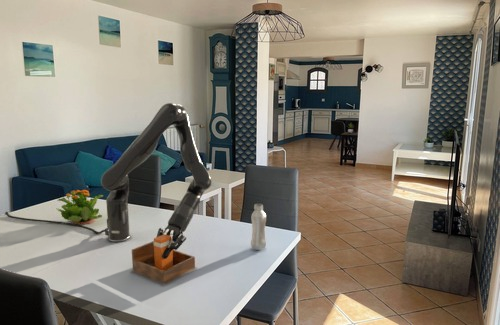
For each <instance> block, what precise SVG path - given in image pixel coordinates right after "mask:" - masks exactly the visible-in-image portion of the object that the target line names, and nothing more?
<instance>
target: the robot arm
mask: <svg viewBox="0 0 500 325" xmlns="http://www.w3.org/2000/svg"><path fill="white" fill-rule="evenodd" d="M189 120H190V119H189V116H188V113H187V110H186V108H185V107H184V106H183V105H181V104H178V103H173V102H167V103H165V104H163V105H162V106H161V107H160V108H159V109H158V110H157V112H156V113H155V115H154V117H153V118H152V120H151V121H150V122H149V124H148V125H147V126H146V127H145V128H144V129H143V130H142V131H141V133H140V134H139V135H138V136H137V137H136V138H135V139H134V141H132V143H131V144H130V145H129V147H127V149H126V150H125V151H124V152H123V153H122V154H121V156H120V157H119V158H118V160H117V161H116V162H115V163H114V164H113V165H111V166H110V167H109V168H108V169H107V170H105V172H104V173H103V174H102V175H101V178H100V183H101V187H102V189H104V190H106V191H110V192H109V194H108V196H107V197H106V200H105V202H106V203H105V204H106V216H107V218H106V228H104V229H102V230H100V231H97V230H95V229H94V228H91V227H88V226H85V225H78V224H75V223H74V222H73V223H72V222H66V221H58V220H48V219H36V218H35V219H34V218H24V217H20V216H14V215H10V214H9V212H8V211H5V212H4V215H6V217H7V218H10V219H15V220H22V221H30V222H40V223H49V224H50V223H51V224H61V225H68V226H73V227H78V228H81V229H86V230H89V231H91V232H93V233H94V234H96V235H100V234H103V233H104V235H105V236H106V237H107V239H108V241H109V242H113V243H120V242H126V241H128V240H129V239H130V238H131V234H130V219H129V218H130V216H129V203H128V202H129V200H128V199H129V195H130V179H129V175H128V174H129V173H131V172H132V171H133V170H135V169H136V168H137V167H139V166H141V165H142V164H143V163H144V162H145V161H147V160H148V159H149V158H150V156H152V154H153V153H154V152H155V150H156V149H157V147H158V144H159V140H160V138H161V136H162V135H163V134H164V132H166V131H167V130H168V129H169V128H170V127H171V126H173V127H174V129H175V130H176V133H177V135H178V139H179V152H180V156H181V159H182V162H183V164H184V167H185V168H186V171H187V172H189V173H190V174H191V176H192V180H191V181H190V183H189V184H188V186H187V189H186V192H185V194H184V195H183V197H182V199H181V200H180V201H179V203H178V205H177V206H176V208H175V209H174V211H173V213H172V214H171V216H170V218H169V219H168V221H167V226H166V227H165V228H162V227H159V228H158V231H157V234H156V237H159V236H161V235H164V234H165V235H169V236H171V239H170V240H169V244H168V246H167V247H168V248H166V249H165V251H164V253H163V254H162V257H163V258H164V259H166V258H167V257H168V256H169V254H170V252H171V251H172V250H176V251H178V249H179V248H180V247H181V246H182V245H183V244H184V243H185V241H186V240H187V237H186V236H185V235H184V232H185V231H186V230H187V228H188V227H189V225H190V222H191V221H192V219H193V217H194V215H195V212H196V211H197V209H198V208H199V205H200V203H201V198H202V196H203V194H204V192H205V191H207V190H209V189H210V187H211V186H212V178H211V175H210V173H209V171H208V170H207V168H206V167H205V165H204V164H203V162H202V159H201V157H200V154H199V151H198V149H197V146H196V144H195V140H194V137H193V133H192V129H191V124H190V121H189ZM171 244H172V245H171Z"/></svg>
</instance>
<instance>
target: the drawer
mask: <svg viewBox="0 0 500 325" xmlns="http://www.w3.org/2000/svg"><path fill="white" fill-rule="evenodd" d="M172 251H173V267H171V268H168V269H166V270H164V271H163V270H161V269H158V268H156V267H155V258H154V240H153V241H151V242H147V243H144V244H143V245H140V246H137V247H135V248H132V249H131V261H132V262H131V263H132V272H135V273H137V274H139V275H142V276H144V277H146V278H148V279H151V280H153V281H155V282H158V283H160V284H162V285H166V284H168V283H169V282H171V281H173V280H175V279H177V278H179V277H182V276H183V275H185V274H186V273H188V272H190V271H192V270H195V269H196V257H195V256H193V255H191V254H188V253H184V252H181V251H179V250H175V249H174V250H172Z"/></svg>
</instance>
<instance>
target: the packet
mask: <svg viewBox="0 0 500 325" xmlns="http://www.w3.org/2000/svg"><path fill="white" fill-rule="evenodd" d="M170 239H171V236H169V235H165V234H164V235H161V236H159V237H157V236H156V237H154V238H153V241H154V258H155V267H156V268H158V269H161V270H163V271H164V270H166V269H168V268H171V267H173V251H171V252H170V254H169V256H168V257H167V258H166V259H164V258H163V257H162V254H163V253H164V251H165V249H166V248H168V247H167V246H168V244H169V240H170ZM171 245H172V244H171Z"/></svg>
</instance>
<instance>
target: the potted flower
mask: <svg viewBox="0 0 500 325" xmlns="http://www.w3.org/2000/svg"><path fill="white" fill-rule="evenodd" d="M65 196H66V197H61V198H58V199H57V201H58V202H63V203H65V204H62V205H61V209H60V208H58V207H56V210H57V211H58V212H60V214H61V217H62V218H63V219H64V220H66V221H70V222H73V224H78V225H82V226H84V225H87V224H88V225H89V224H91V223H93V222H94V221H95V219H99V218H102V217H103V214H99V211H100V208H96V207H95V206H96V204H97V203H98V199H99V198H102V197H104V195H103V194H98V195H95V196H94V197H93V198H92V197H91V198H90V190H87V189H82V190H79V189H76V190H71V191H70V193H66V194H65ZM70 198H71V199H70ZM88 198H90V199H88Z"/></svg>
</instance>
